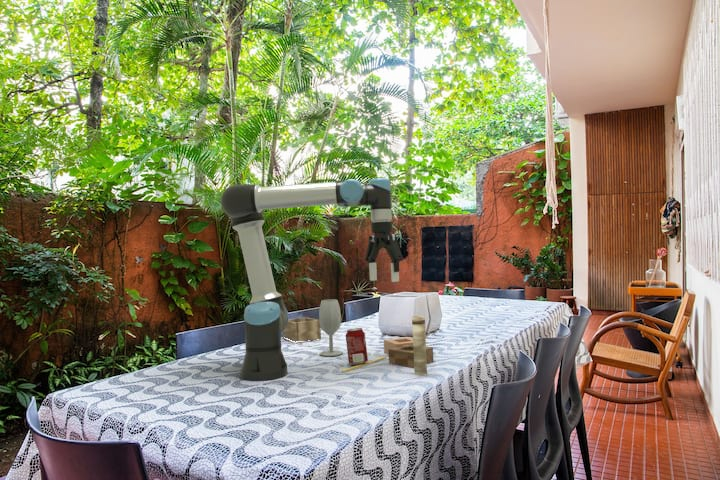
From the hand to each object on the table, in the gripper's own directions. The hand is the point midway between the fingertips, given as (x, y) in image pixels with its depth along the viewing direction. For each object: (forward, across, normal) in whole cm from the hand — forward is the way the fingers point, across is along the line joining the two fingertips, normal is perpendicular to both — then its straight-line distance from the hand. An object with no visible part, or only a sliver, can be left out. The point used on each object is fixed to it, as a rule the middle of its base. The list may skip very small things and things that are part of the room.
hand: (384, 281), depth 180 cm
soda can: (+28, +3, +10) cm, 30 cm away
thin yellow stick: (+28, +1, +9) cm, 30 cm away
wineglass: (+29, +24, +9) cm, 39 cm away
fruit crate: (+28, +62, +3) cm, 69 cm away
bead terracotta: (+29, +6, -12) cm, 32 cm away
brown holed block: (+29, -8, -5) cm, 30 cm away
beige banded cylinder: (+29, -22, +2) cm, 36 cm away
